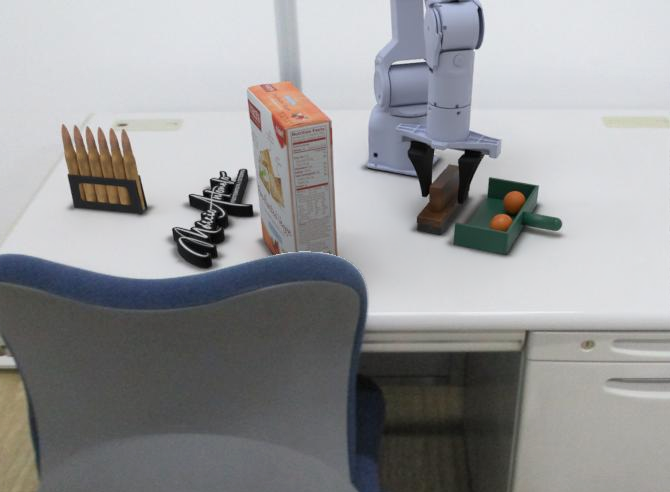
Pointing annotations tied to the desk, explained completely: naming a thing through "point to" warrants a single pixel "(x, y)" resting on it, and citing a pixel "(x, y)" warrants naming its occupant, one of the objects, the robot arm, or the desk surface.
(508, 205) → the orange ball
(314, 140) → the cracker box
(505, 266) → the desk surface
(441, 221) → the brush
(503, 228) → the small orange ball
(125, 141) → the ammunition clip
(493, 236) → the dustpan
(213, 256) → the nameplate
